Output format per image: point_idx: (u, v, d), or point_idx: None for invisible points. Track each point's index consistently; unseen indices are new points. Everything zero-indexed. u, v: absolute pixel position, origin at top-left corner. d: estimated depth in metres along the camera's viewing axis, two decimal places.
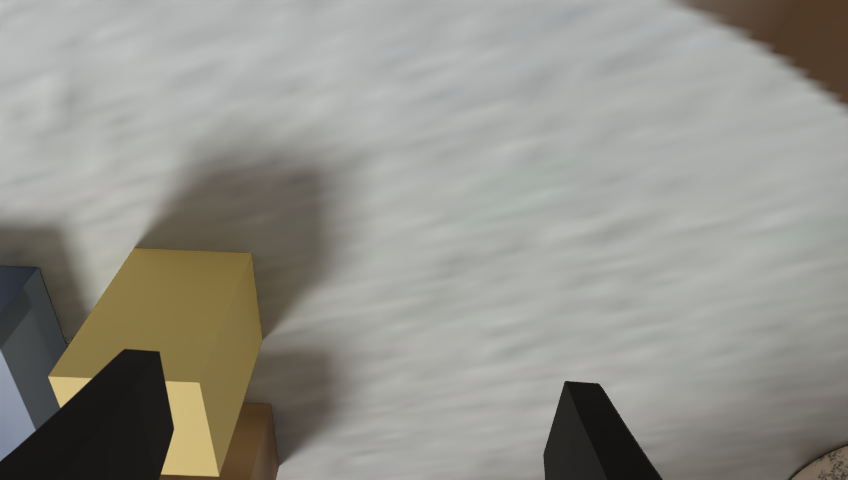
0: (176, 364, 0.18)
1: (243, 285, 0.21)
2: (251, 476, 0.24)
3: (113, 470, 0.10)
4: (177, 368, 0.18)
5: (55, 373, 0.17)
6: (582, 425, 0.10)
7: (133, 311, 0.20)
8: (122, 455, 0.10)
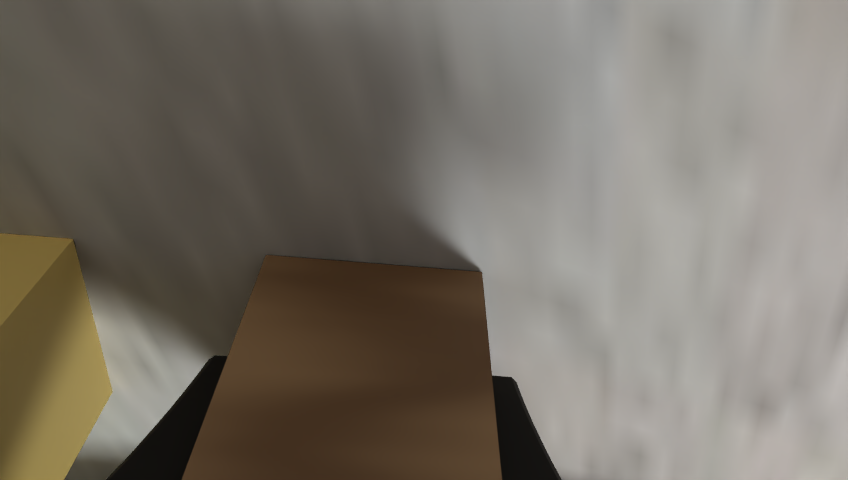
0: None
1: None
2: (215, 395, 0.09)
3: None
4: None
5: None
6: None
7: None
8: None
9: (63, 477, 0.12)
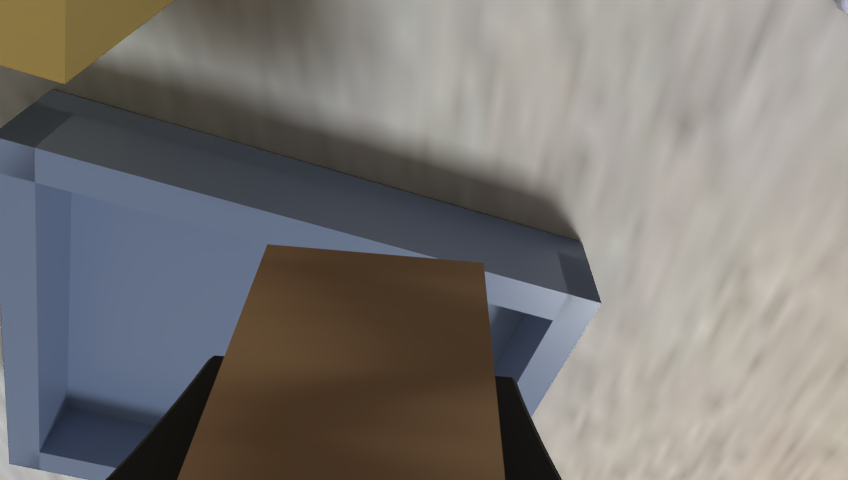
0: None
1: None
2: (216, 382, 0.09)
3: None
4: None
5: None
6: None
7: None
8: None
9: (144, 20, 0.15)
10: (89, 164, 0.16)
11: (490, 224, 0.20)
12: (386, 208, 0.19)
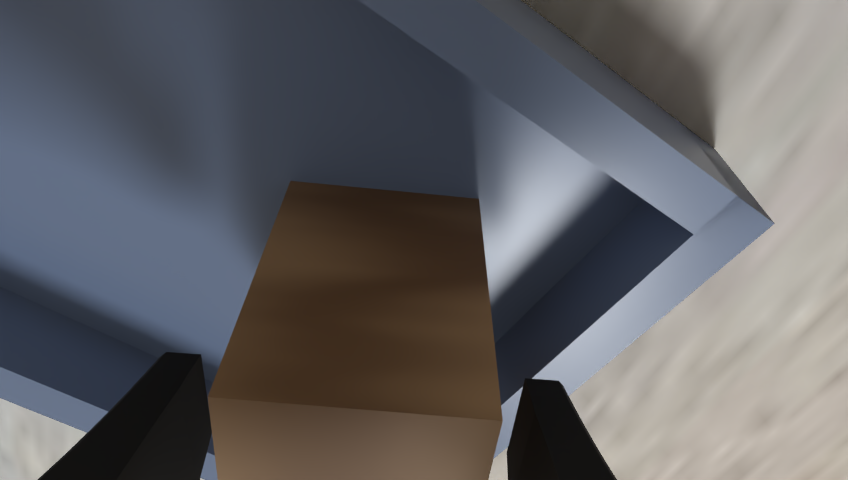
0: None
1: None
2: (253, 280, 0.11)
3: (160, 474, 0.10)
4: None
5: None
6: (537, 422, 0.10)
7: None
8: (168, 458, 0.10)
9: None
10: None
11: (617, 78, 0.13)
12: None
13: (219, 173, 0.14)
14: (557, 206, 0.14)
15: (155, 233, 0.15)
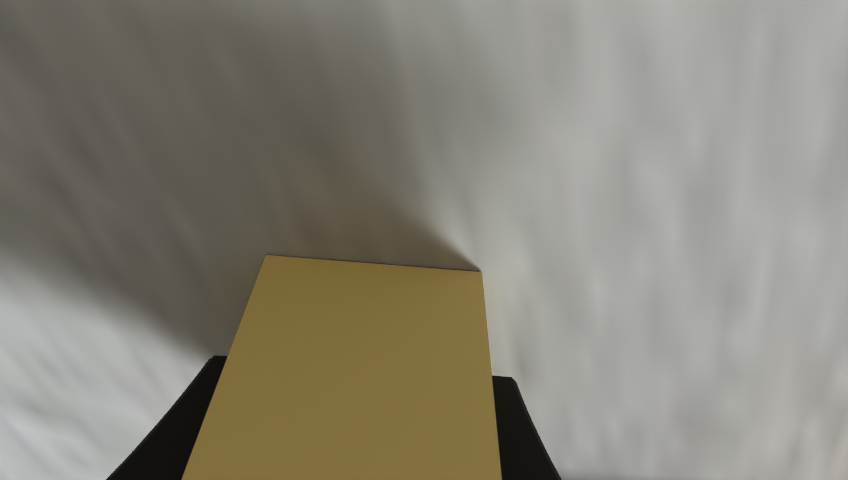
0: None
1: (271, 302, 0.11)
2: None
3: None
4: None
5: None
6: None
7: None
8: None
9: None
10: None
11: None
12: None
13: None
14: None
15: None
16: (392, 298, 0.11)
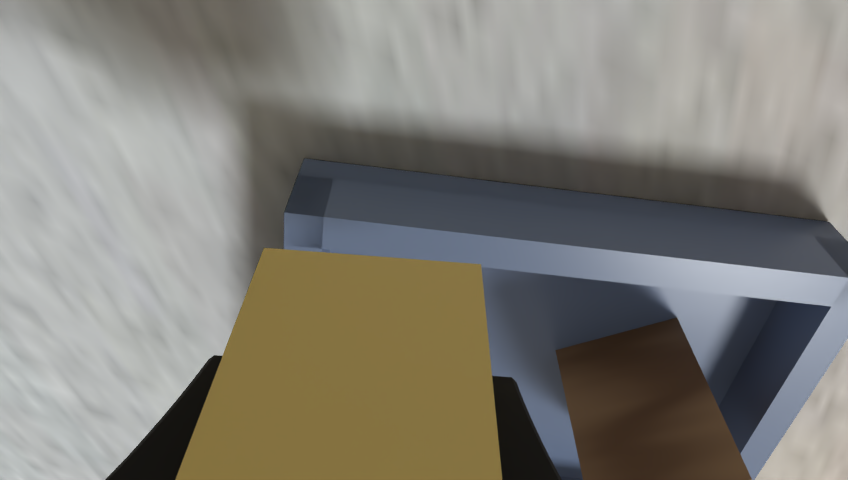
0: None
1: (269, 294, 0.11)
2: (573, 432, 0.19)
3: None
4: None
5: None
6: None
7: None
8: None
9: None
10: (373, 224, 0.17)
11: (737, 218, 0.19)
12: (638, 219, 0.19)
13: (512, 361, 0.22)
14: (732, 302, 0.21)
15: None
16: (391, 290, 0.11)
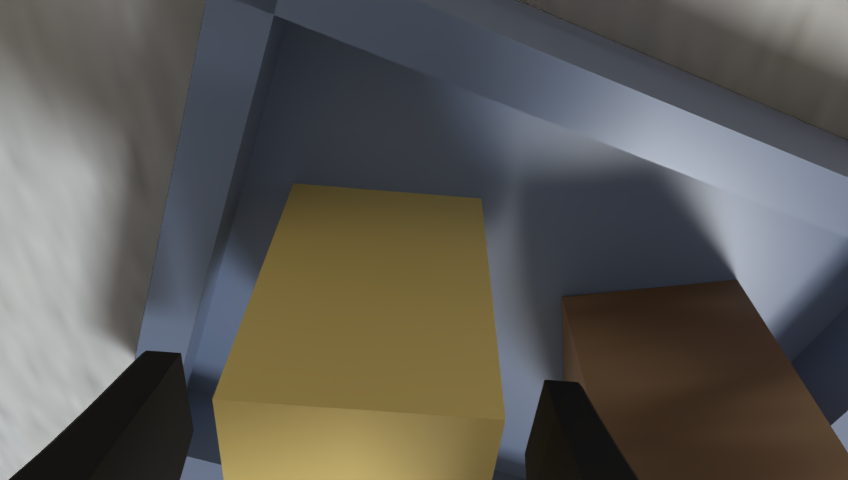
0: None
1: (300, 217, 0.13)
2: None
3: (137, 472, 0.10)
4: None
5: None
6: (559, 423, 0.10)
7: None
8: (146, 457, 0.10)
9: None
10: None
11: None
12: (749, 112, 0.12)
13: (498, 301, 0.16)
14: (814, 272, 0.15)
15: None
16: (404, 216, 0.13)
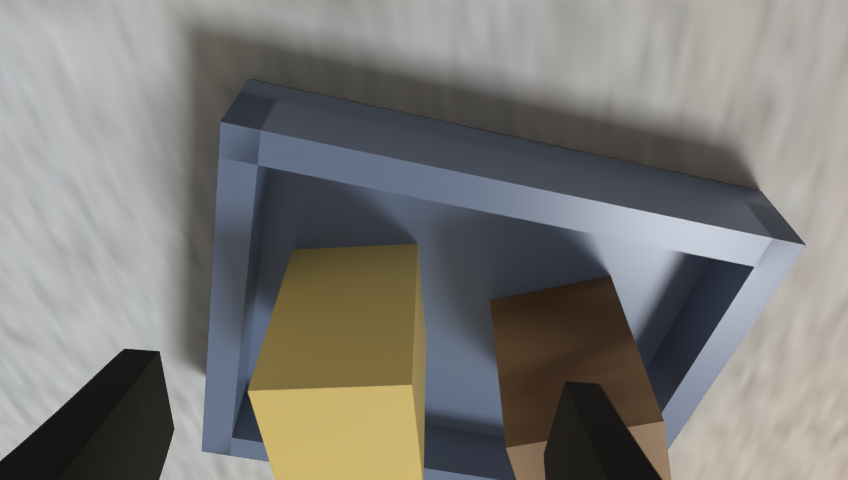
0: None
1: (297, 274, 0.20)
2: (498, 375, 0.19)
3: (113, 470, 0.10)
4: None
5: None
6: (582, 425, 0.10)
7: None
8: (122, 455, 0.10)
9: None
10: (311, 142, 0.17)
11: (673, 178, 0.20)
12: (577, 168, 0.19)
13: (446, 309, 0.22)
14: (663, 263, 0.21)
15: None
16: (364, 264, 0.20)
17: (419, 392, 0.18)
